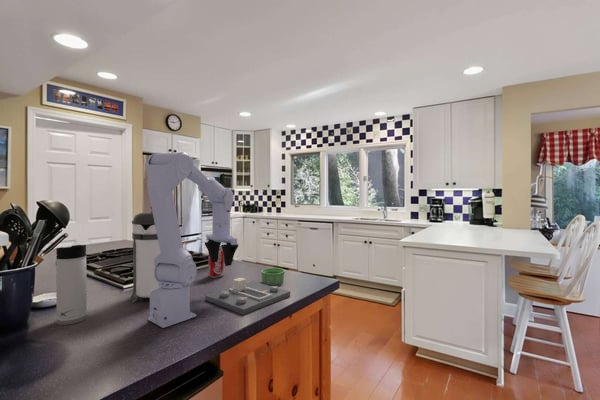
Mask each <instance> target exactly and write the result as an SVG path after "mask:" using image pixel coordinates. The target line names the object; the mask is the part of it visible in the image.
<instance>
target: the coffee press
mask: <svg viewBox="0 0 600 400" xmlns="http://www.w3.org/2000/svg"><path fill="white" fill-rule="evenodd" d="M149 208H150V209H151V211H144V212H139V213H138V214H136V215H135V216H134V217H133V220H131V224H132V233H131V234H132V235H131V236H132V250H133V251H132V253H133V255H132V256H133V257H132V260H133V261H132V265H133V266H132V271H133V272H132V277H133V278H132V279H133V281H132V283H133V284H132V286H133V287H132V293H131V296H130V297H129V299H128V300H129V301H128V302H130V303H132V304H133V303H134V304H135V303H136V302H137V301H138V299H140V298H150V294H151V292H152V291H153V290H156V289H158V288H159V287H160V286H159V282H158V281H157V280H156V279H155V277H154V259H155V257H156V256H157V255H158V254H159V253H160V252H161V251H160V246H159V241H158V237H157V232H156V227H155V222H154V217H153V213H152V208H151V206H150V207H149ZM135 296H136V297H135ZM134 297H135V298H134Z"/></svg>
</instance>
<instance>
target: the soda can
mask: <svg viewBox="0 0 600 400" xmlns="http://www.w3.org/2000/svg"><path fill="white" fill-rule="evenodd" d="M207 274H208V276H209V277H210V278H213V279H217V278H222V277H223V276H224V275H225V263H224V253H223V250H222V247H221V245H220V247H219V253H218V261H217V262H213V263H212V262H211V259H210V255H209V254H208V273H207Z"/></svg>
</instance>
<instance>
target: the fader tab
mask: <svg viewBox="0 0 600 400" xmlns="http://www.w3.org/2000/svg"><path fill="white" fill-rule="evenodd" d="M232 281H233V283H232V285H233V286H232V287H233V290H236V291H243V290H246V283H247V279H246V278H243V277H239V278H238V277H237V278H234V279H233V280H232Z"/></svg>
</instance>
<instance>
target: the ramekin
mask: <svg viewBox="0 0 600 400" xmlns="http://www.w3.org/2000/svg"><path fill="white" fill-rule="evenodd" d="M285 271H286V270H285V269H283V268H280V267H267V268H263V269H261V271H260V272H261V282H262V284H265V285H268V286H277V285H280V284H282V283H284V279H285V278H284V277H285Z"/></svg>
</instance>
